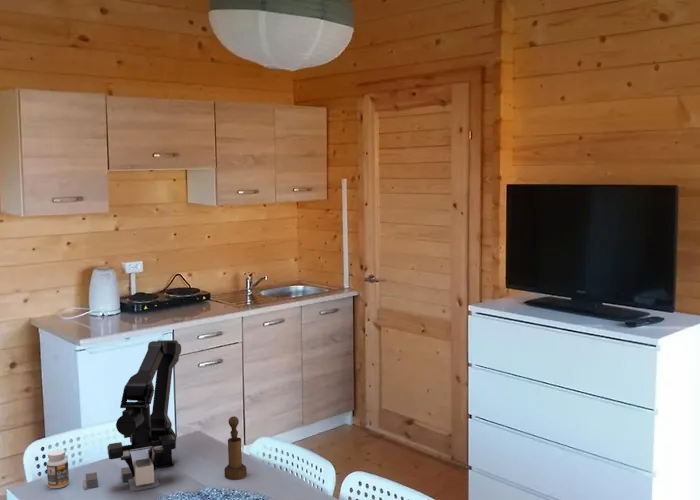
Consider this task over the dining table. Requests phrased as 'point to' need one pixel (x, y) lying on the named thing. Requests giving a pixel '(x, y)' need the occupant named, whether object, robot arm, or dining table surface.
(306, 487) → the dining table surface
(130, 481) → the mat
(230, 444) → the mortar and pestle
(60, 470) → the pill bottle
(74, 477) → the dining table surface
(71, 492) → the dining table surface
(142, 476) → the beige open box
